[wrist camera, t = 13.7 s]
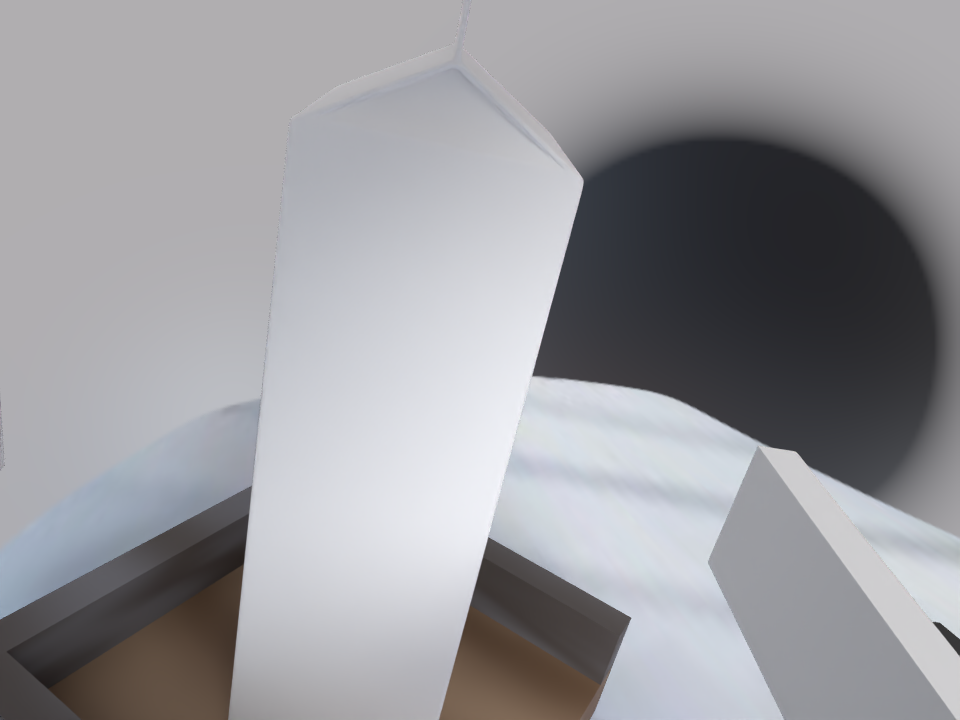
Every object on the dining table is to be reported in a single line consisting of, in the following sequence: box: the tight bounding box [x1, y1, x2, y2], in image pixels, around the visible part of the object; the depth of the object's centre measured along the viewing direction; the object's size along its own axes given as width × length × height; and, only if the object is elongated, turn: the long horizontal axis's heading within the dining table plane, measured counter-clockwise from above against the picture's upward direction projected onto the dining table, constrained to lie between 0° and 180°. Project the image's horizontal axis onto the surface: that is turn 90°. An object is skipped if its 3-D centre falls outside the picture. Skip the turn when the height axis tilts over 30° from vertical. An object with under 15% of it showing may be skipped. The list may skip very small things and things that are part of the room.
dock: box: [0, 486, 631, 720], centre depth 25 cm, size 16×15×5 cm
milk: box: [228, 0, 584, 720], centre depth 21 cm, size 6×6×22 cm
